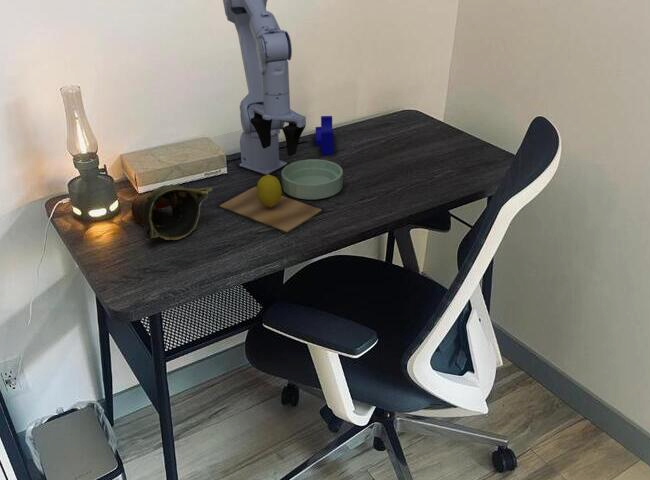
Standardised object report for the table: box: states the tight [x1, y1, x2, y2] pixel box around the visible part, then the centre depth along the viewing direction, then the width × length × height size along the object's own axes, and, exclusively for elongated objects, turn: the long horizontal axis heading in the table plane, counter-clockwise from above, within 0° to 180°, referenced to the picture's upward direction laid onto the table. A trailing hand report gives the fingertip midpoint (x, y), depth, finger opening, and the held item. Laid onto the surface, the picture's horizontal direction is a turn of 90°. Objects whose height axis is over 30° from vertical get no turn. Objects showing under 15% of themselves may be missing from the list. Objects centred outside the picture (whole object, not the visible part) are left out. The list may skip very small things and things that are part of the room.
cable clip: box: [315, 115, 334, 156], centre depth 176 cm, size 12×4×6 cm, turn 179°
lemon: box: [256, 174, 283, 208], centre depth 147 cm, size 6×6×8 cm
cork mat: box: [218, 186, 323, 233], centre depth 149 cm, size 20×12×1 cm, turn 51°
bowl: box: [280, 158, 344, 200], centre depth 156 cm, size 14×14×4 cm
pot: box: [130, 183, 213, 241], centre depth 142 cm, size 17×11×18 cm
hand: (279, 150), depth 151 cm, fingers open, 7 cm apart
